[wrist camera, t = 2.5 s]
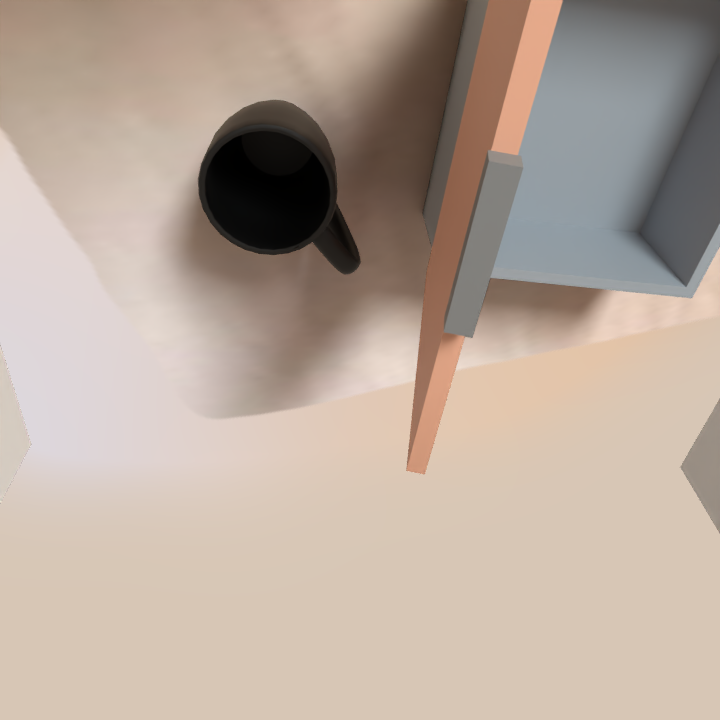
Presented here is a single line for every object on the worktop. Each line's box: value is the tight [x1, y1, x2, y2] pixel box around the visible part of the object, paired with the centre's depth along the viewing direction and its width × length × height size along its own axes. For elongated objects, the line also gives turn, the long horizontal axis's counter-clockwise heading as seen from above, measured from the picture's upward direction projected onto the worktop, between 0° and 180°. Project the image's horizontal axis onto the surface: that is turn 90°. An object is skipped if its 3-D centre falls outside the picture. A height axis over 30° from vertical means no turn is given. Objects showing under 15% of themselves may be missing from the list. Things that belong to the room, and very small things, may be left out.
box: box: [423, 0, 720, 298], centre depth 40 cm, size 18×22×9 cm
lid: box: [407, 0, 563, 474], centre depth 27 cm, size 19×22×1 cm
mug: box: [198, 100, 361, 274], centre depth 42 cm, size 8×12×10 cm
